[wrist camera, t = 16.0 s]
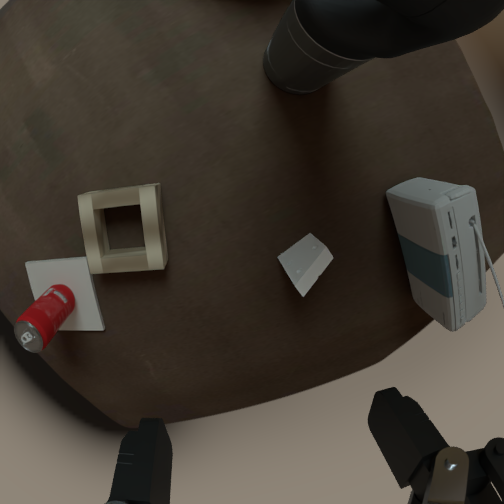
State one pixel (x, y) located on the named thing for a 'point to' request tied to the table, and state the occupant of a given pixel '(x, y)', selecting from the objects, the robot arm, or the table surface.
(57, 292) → the beverage can
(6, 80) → the table surface
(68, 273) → the pad
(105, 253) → the collar
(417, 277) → the stereo radio cassette player
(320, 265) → the white wedge bracket
